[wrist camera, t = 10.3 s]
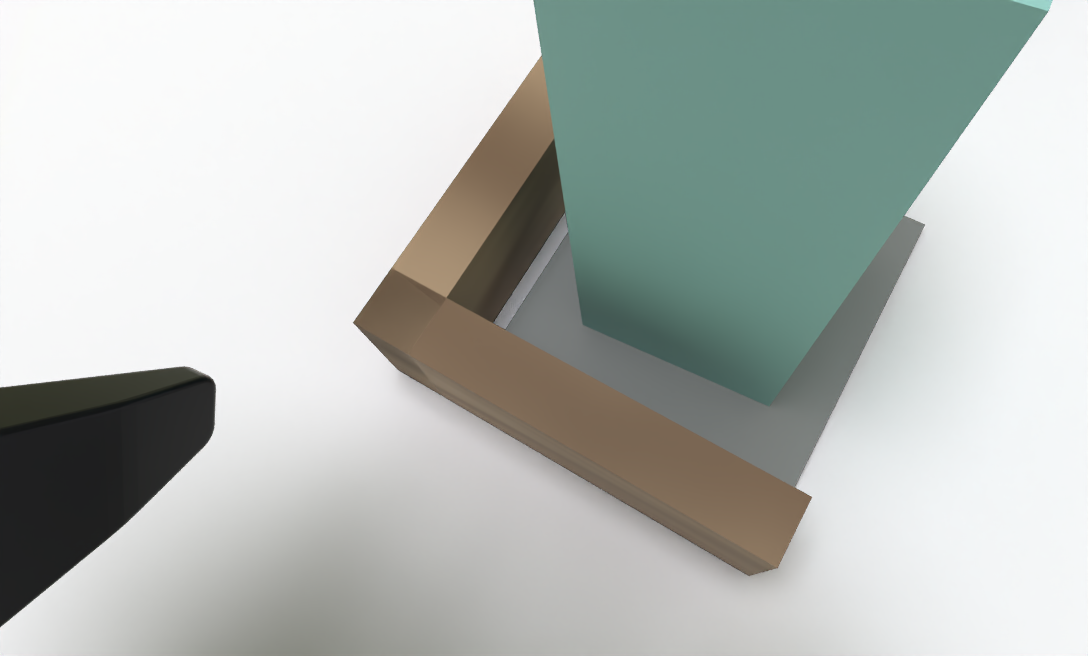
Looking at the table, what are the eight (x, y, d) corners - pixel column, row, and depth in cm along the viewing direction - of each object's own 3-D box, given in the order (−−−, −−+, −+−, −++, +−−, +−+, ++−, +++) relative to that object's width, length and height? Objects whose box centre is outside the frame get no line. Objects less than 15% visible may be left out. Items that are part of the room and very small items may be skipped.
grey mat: (786, 498, 18) (789, 497, 18) (501, 341, 20) (499, 338, 20) (921, 230, 20) (925, 224, 20) (648, 112, 22) (649, 106, 22)
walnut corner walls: (748, 575, 17) (777, 568, 14) (397, 369, 20) (353, 322, 17) (921, 230, 20) (979, 155, 17) (588, 86, 22) (582, -3, 19)
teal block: (768, 406, 18) (1049, 11, 6) (582, 324, 20) (512, -140, 7) (841, 236, 20) (1187, -363, 8) (662, 169, 21) (713, -439, 9)
